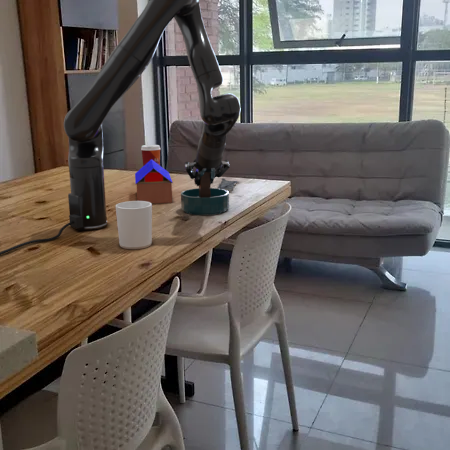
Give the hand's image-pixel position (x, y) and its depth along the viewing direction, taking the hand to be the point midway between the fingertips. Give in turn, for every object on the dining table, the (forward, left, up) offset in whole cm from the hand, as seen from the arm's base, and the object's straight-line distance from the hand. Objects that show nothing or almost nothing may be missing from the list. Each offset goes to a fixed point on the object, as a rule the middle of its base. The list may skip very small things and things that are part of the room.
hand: (203, 183), depth 182 cm
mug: (-36, -16, -9) cm, 40 cm away
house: (0, +27, -9) cm, 28 cm away
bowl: (0, 0, -8) cm, 8 cm away
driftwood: (+29, +22, -9) cm, 38 cm away
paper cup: (+15, +51, -9) cm, 54 cm away
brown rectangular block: (-1, -2, -5) cm, 5 cm away
